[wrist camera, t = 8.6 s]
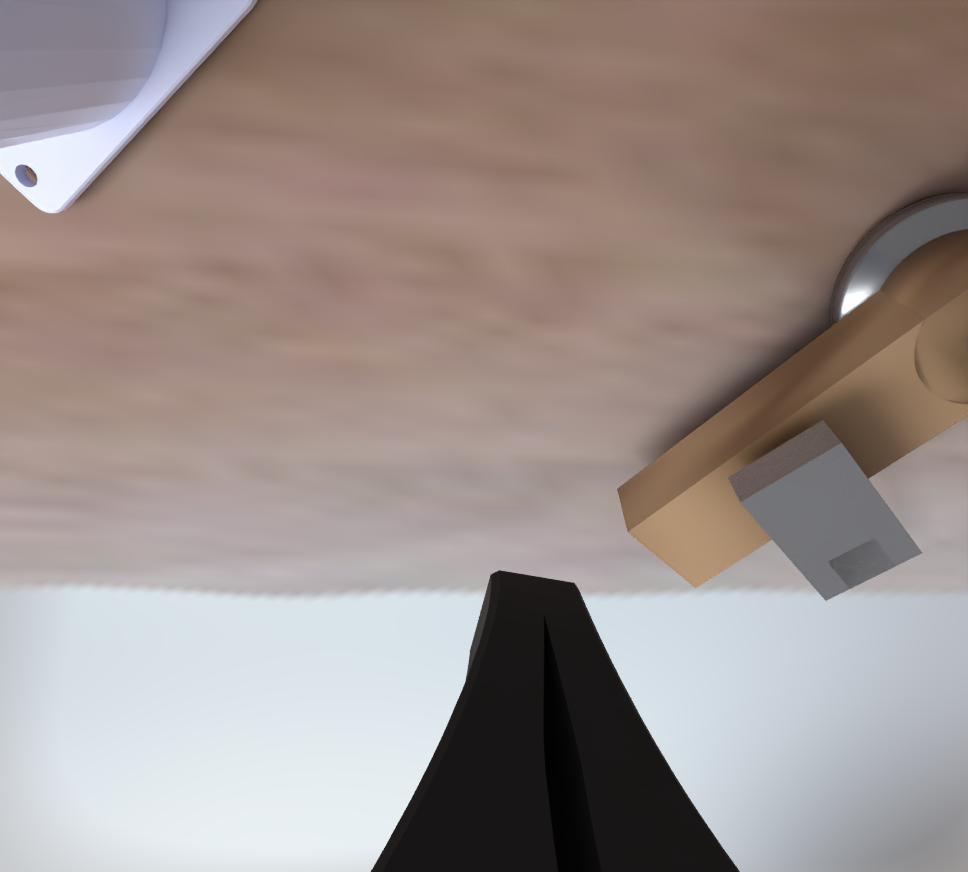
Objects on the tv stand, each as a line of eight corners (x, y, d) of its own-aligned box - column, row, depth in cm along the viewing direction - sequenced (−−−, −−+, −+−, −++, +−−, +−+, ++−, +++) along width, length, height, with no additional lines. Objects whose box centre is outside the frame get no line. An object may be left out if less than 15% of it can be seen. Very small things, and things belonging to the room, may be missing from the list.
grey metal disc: (800, 270, 17) (811, 279, 16) (997, 150, 15) (1018, 154, 14) (868, 401, 19) (880, 413, 18) (1050, 307, 17) (1069, 316, 16)
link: (986, 195, 15) (1122, 238, 11) (1054, 299, 16) (1194, 365, 13) (610, 483, 19) (631, 572, 16) (686, 547, 20) (719, 642, 17)
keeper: (768, 355, 18) (841, 442, 14) (839, 450, 19) (922, 552, 16) (692, 406, 19) (740, 502, 15) (764, 493, 20) (825, 600, 16)
